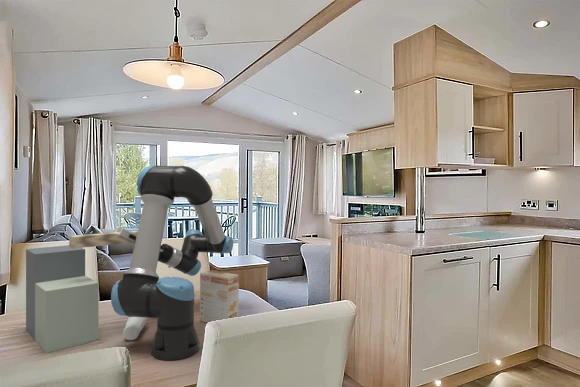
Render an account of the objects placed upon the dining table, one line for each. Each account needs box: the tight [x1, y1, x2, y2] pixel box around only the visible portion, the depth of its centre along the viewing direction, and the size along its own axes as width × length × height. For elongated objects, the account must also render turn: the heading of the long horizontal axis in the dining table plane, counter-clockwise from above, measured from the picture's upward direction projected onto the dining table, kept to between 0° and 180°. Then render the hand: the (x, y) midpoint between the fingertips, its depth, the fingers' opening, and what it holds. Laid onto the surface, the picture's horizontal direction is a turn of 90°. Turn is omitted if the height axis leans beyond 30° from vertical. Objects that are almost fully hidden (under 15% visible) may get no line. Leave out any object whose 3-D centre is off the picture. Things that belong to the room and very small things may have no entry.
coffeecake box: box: [199, 269, 240, 324], centre depth 154 cm, size 15×7×20 cm, turn 57°
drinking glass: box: [122, 316, 148, 341], centre depth 142 cm, size 7×7×15 cm
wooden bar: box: [68, 230, 138, 249], centre depth 144 cm, size 24×4×4 cm, turn 134°
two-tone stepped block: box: [25, 244, 100, 354], centre depth 139 cm, size 16×28×30 cm, turn 45°
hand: (118, 231), depth 147 cm, fingers closed on wooden bar, 4 cm apart
